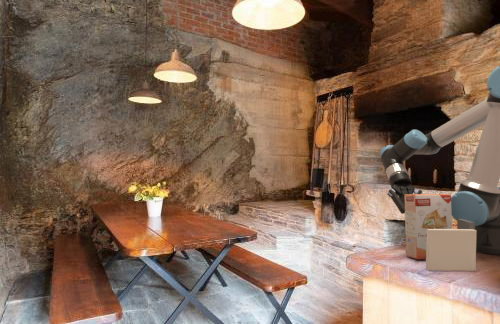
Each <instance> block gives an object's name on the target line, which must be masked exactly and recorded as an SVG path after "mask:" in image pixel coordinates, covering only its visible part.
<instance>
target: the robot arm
mask: <svg viewBox="0 0 500 324" xmlns="http://www.w3.org/2000/svg"><path fill="white" fill-rule="evenodd" d="M486 87H487V90H488V92H489V93H488V95H487V98H486V99H484V100H483V101H480V102H479V103H477V104H476V105H473V106H472V107H471V108H469V109H467V110H466V111H464V112H462V113H460V114H459V115H457V116H456V117H454V118H452V119H450V120H449V121H447V122H446V123H444V124H442V125H440V126H439V127H437V128H435V129H434V130H432V131H429V133H427V134H424V133H423V132H422V131H420V130H418V129H411V130H410V131H409V132H408V133H406V134H405V135H404V136H403V137H402V138H401V139H399V141H398V142H396V144H394V145H393V144H388V145H386V146H383V147H382V148H381V149H380V150H379V153H378V154H379V157H380V162H381V164H382V166H383V168H384V171H385V174H386V176H387V179H388V182H389V185H390V188H391V189H390V188H389V190H388V191H387V193H386V194H387V196H388V197H389V198H390V199H391V200H392V201H393V203H394V205H395V206H396V208H397V209H398V210H399V212H400V213H401V214H402V215H405V198H404V195H406V194H423V190H421V189H419V190H418V189H415V187H414V186H413V183H412V179H411V177H410V175H409V173H408V170H407V169H406V167H405V163H404V162H405V161H407V160H408V159H409V158H410V157H412V156H414V155H426V156H431V155H434V154H437V153H438V152H439V151H440V149H442V148H443V147H444V146H447V145H449V144H450V143H452V142H454V141H456V140H458V139H460V138H462V137H463V136H466V135H467V134H470V133H471V132H472V131H474V130H477V129H478V128H480V127H482V126H483V129H482V131H481V134H480V135H481V136H480V138H479V141H478V144H477V148H476V151H475V154H474V157H473V161H472V163H471V167H470V170H469V172H468V175H467V178H466V179H463V180H461V181H460V183H459V187H458V189H457V192H455V193H454V194H453V195H451V212H452V218H453V219H454V220H455V221H456V222H457V219H464V220H467V221H471V222H474V223H475V230H477V231H476V252H479V253H482V254H491V255H496V256H497V255H498V256H500V186H498V185H499V183H500V182H499V181H500V64H499V65H497V67H495V68H494V69H493V70H491V72H490V73H489V75H488V77H487V81H486Z"/></svg>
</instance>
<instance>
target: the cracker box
mask: <svg viewBox="0 0 500 324" xmlns="http://www.w3.org/2000/svg"><path fill="white" fill-rule="evenodd" d="M451 197H452V195H451V194H449V193H448V194H447V193H443V194H442V193H422V194H414V193H413V194H406V195H404V198H405V213H404V220H405V221H404V223H405V225H404V226H405V228H404V229H405V256H406V257H407V258H408V257H409V258H412V259H415V260H426V243H427V229H453V222H452V221H453V219H452V218H453V216H452V212H451Z"/></svg>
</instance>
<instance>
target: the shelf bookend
mask: <svg viewBox="0 0 500 324" xmlns="http://www.w3.org/2000/svg"><path fill="white" fill-rule="evenodd" d="M456 222H457V223H456V229H455V228H452V229H427V243H426V259H425V269H426V270H427V271H440V272H441V271H443V272H444V271H446V272H447V271H454V272H455V271H457V272H458V271H460V272H462V271H463V272H465V271H466V272H471V271H473V272H475V271H476V270H477V269H476V266H477V264H476V263H477V262H476V261H477V260H476V259H477V251H476V231H477V230H475V223H474V222H471V221H467V220H464V219H457V221H456ZM476 272H477V271H476Z"/></svg>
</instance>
